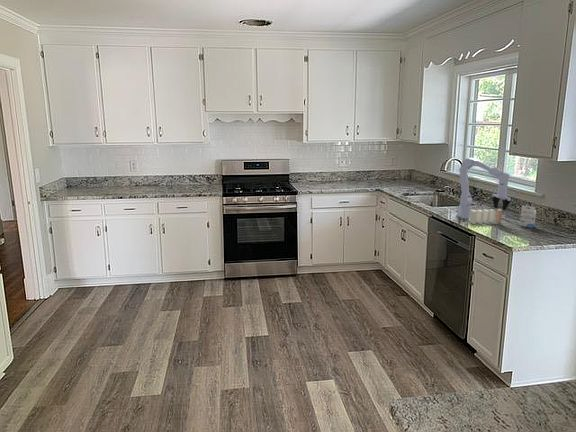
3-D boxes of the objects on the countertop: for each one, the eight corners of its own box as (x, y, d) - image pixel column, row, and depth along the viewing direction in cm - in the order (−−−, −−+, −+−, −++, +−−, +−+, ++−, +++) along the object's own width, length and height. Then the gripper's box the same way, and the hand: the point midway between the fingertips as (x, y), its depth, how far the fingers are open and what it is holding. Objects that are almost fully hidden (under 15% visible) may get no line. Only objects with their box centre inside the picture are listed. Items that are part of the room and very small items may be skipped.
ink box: (534, 227, 290) (537, 206, 287) (532, 228, 287) (535, 207, 283) (520, 224, 296) (523, 204, 293) (518, 226, 292) (521, 205, 289)
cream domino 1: (469, 222, 300) (470, 209, 298) (471, 222, 300) (472, 209, 298) (473, 224, 295) (474, 211, 293) (475, 224, 295) (477, 211, 293)
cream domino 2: (475, 222, 301) (477, 209, 298) (477, 222, 301) (479, 209, 299) (480, 223, 296) (481, 211, 294) (482, 223, 296) (483, 211, 294)
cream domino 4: (488, 221, 302) (490, 209, 300) (490, 221, 302) (492, 209, 300) (493, 223, 297) (494, 210, 295) (495, 223, 298) (496, 210, 296)
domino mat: (463, 221, 305) (463, 220, 305) (499, 219, 310) (499, 219, 310) (473, 225, 293) (473, 224, 293) (510, 223, 298) (510, 223, 298)
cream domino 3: (482, 221, 301) (483, 209, 299) (484, 221, 302) (485, 209, 300) (486, 223, 297) (488, 211, 294) (488, 223, 297) (490, 211, 295)
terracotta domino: (495, 221, 303) (497, 209, 301) (498, 221, 303) (499, 209, 301) (498, 223, 298) (499, 210, 296) (500, 223, 298) (502, 210, 296)
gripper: (489, 188, 301) (487, 207, 304) (506, 191, 287) (503, 211, 291) (497, 187, 303) (495, 206, 306) (514, 191, 290) (511, 210, 293)
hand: (499, 208), depth 298 cm, fingers open, 7 cm apart
